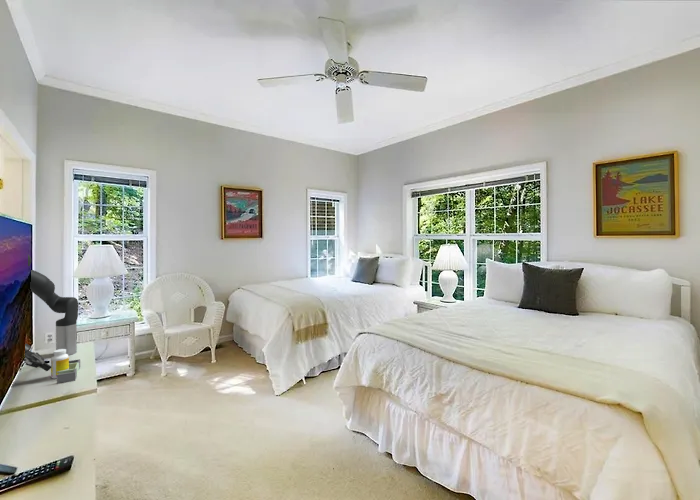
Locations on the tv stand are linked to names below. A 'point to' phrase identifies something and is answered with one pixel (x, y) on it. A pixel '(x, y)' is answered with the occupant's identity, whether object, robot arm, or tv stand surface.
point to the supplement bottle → (59, 362)
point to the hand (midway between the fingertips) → (49, 369)
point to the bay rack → (69, 372)
